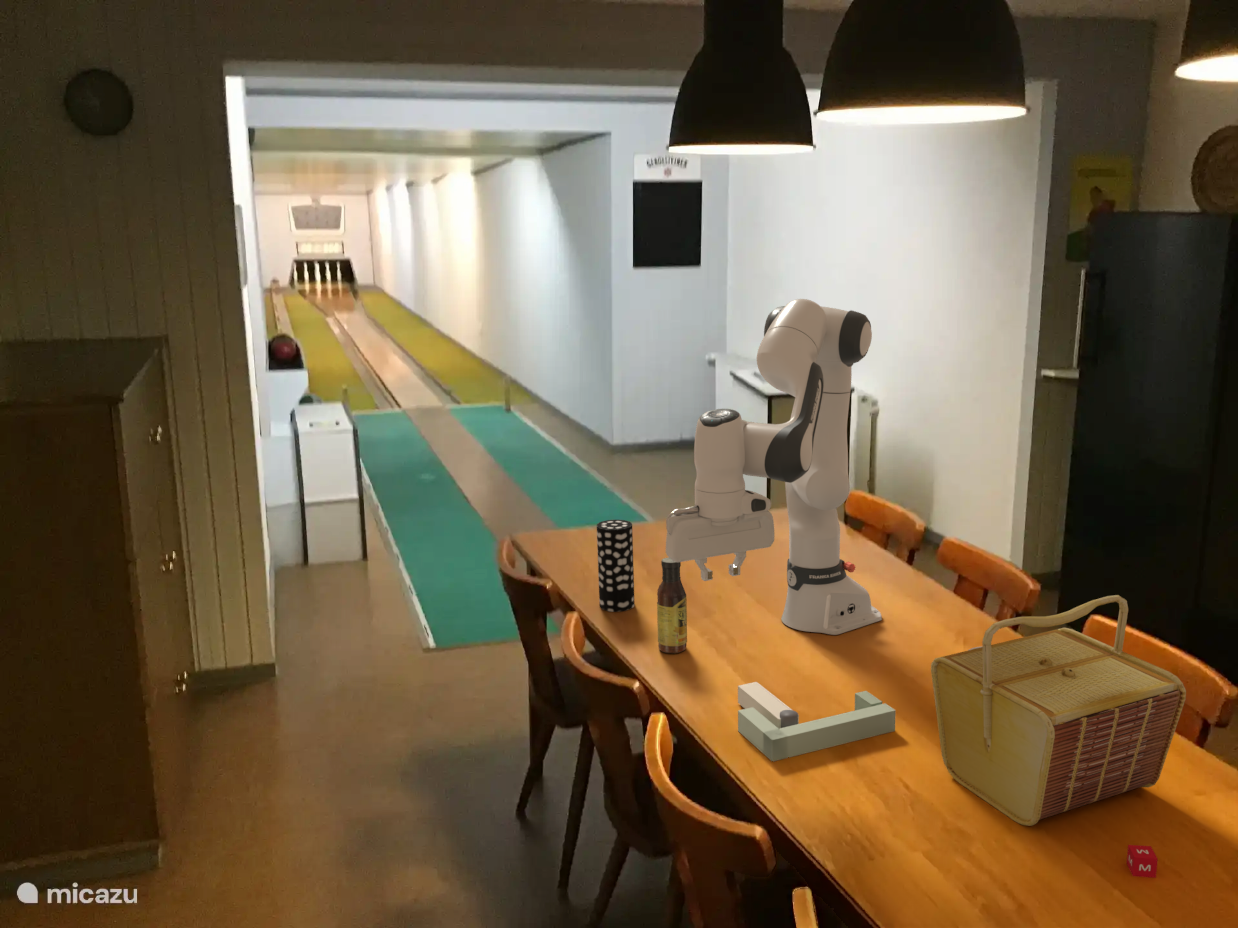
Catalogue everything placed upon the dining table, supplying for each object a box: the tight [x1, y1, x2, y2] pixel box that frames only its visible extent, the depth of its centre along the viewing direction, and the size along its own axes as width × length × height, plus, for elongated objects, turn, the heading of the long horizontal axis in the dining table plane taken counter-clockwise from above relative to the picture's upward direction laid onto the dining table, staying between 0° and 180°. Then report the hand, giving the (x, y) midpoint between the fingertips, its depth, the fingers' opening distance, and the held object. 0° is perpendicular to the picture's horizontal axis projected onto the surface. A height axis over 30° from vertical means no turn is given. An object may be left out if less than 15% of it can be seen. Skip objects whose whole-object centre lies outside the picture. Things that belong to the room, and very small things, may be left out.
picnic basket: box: [930, 594, 1187, 827], centre depth 167 cm, size 29×26×30 cm
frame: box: [737, 690, 897, 762], centre depth 190 cm, size 25×12×4 cm, turn 112°
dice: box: [1126, 844, 1158, 879], centre depth 148 cm, size 3×3×3 cm
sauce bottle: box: [656, 557, 688, 654], centre depth 225 cm, size 6×6×20 cm
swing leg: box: [737, 681, 800, 729], centre depth 194 cm, size 17×4×4 cm, turn 22°
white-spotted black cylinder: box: [596, 519, 635, 613], centre depth 251 cm, size 8×8×20 cm
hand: (720, 577), depth 190 cm, fingers open, 4 cm apart
